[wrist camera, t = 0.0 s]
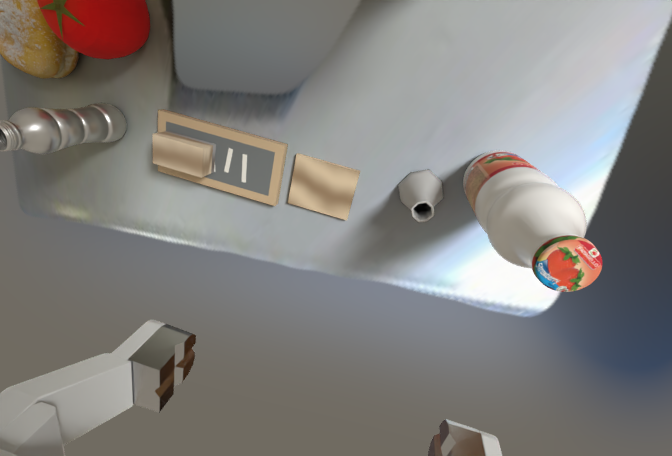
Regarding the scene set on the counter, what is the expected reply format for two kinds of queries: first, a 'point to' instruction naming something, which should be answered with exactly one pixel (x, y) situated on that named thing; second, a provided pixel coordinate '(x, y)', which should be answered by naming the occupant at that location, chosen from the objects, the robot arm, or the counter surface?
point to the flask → (421, 194)
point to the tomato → (99, 25)
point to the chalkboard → (232, 158)
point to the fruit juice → (531, 220)
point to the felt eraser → (183, 153)
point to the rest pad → (323, 186)
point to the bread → (33, 41)
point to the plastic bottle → (61, 128)
